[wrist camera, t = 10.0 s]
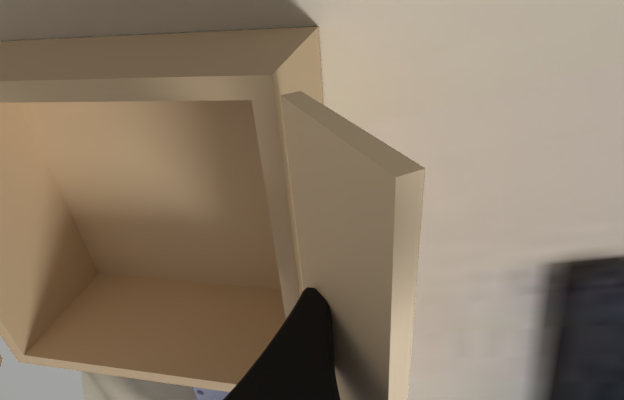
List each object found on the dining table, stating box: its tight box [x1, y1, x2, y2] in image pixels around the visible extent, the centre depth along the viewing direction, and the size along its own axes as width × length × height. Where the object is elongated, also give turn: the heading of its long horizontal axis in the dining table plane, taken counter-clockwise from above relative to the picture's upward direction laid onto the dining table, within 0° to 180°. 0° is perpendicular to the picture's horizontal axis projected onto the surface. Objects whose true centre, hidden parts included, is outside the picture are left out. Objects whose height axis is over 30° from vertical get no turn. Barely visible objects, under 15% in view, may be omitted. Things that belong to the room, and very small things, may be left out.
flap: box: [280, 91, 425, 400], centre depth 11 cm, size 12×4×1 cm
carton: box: [0, 26, 323, 392], centre depth 17 cm, size 13×14×6 cm
